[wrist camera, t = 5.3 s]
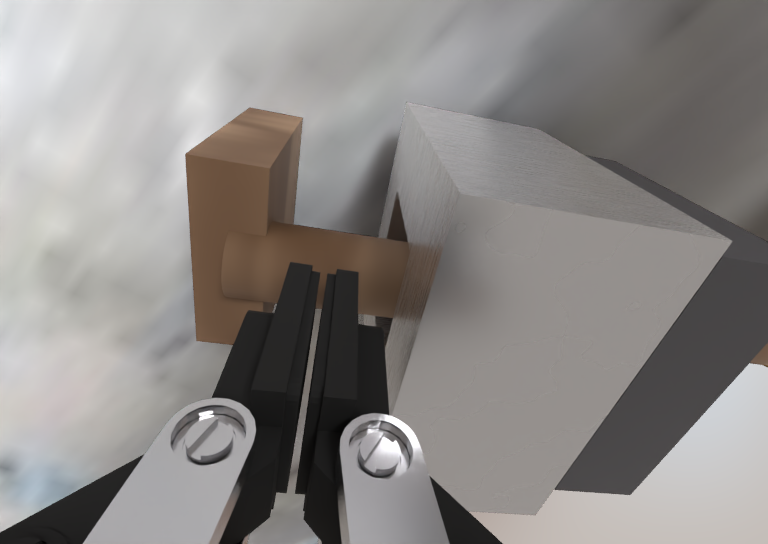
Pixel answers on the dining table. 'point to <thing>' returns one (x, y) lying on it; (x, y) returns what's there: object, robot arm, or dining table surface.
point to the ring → (680, 359)
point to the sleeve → (522, 300)
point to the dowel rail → (272, 230)
